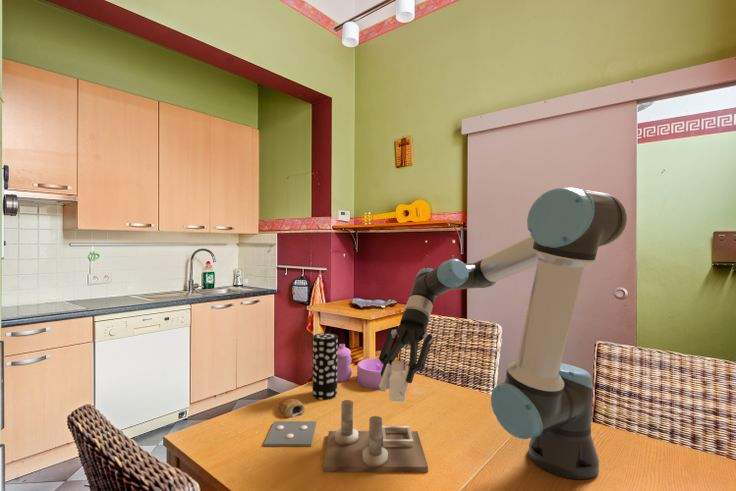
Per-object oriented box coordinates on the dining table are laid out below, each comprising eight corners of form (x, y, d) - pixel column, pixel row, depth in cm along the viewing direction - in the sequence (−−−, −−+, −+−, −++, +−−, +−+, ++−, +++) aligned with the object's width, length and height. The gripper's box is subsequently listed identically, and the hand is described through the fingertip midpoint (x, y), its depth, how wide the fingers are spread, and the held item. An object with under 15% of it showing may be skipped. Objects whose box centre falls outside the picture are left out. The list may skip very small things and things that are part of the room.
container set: (398, 375, 148) (399, 342, 148) (396, 390, 133) (397, 353, 133) (336, 371, 151) (336, 339, 151) (327, 386, 136) (327, 350, 136)
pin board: (417, 435, 102) (417, 396, 102) (427, 471, 86) (428, 425, 86) (328, 435, 102) (329, 396, 102) (323, 471, 86) (323, 425, 86)
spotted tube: (332, 401, 124) (333, 340, 123) (308, 398, 125) (309, 338, 125) (339, 391, 132) (340, 334, 132) (317, 388, 134) (317, 332, 133)
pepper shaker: (389, 401, 97) (389, 364, 96) (390, 395, 101) (390, 359, 100) (404, 402, 96) (405, 365, 96) (405, 396, 100) (405, 360, 100)
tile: (316, 423, 108) (316, 420, 108) (310, 446, 97) (310, 442, 96) (274, 423, 108) (274, 420, 108) (263, 446, 96) (263, 442, 96)
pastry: (273, 408, 118) (273, 396, 118) (293, 403, 122) (293, 391, 122) (287, 419, 111) (287, 407, 111) (307, 413, 115) (308, 401, 115)
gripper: (449, 326, 107) (428, 405, 93) (392, 319, 116) (365, 391, 102) (443, 310, 102) (421, 392, 88) (385, 304, 111) (355, 377, 97)
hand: (391, 391), depth 95 cm, fingers closed on pepper shaker, 5 cm apart
